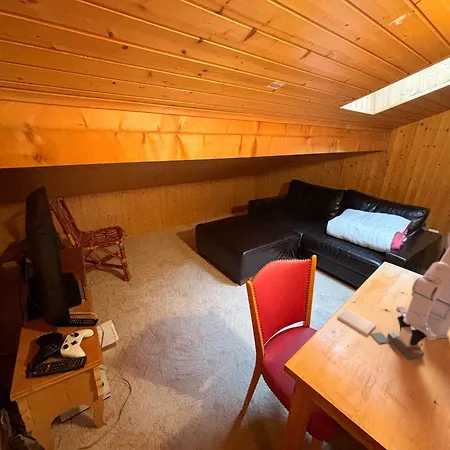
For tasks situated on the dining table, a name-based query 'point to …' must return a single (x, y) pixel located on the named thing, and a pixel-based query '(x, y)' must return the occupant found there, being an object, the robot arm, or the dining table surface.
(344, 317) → the hard drive
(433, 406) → the dining table surface
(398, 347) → the gray recessed box
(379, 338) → the coaster
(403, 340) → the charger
